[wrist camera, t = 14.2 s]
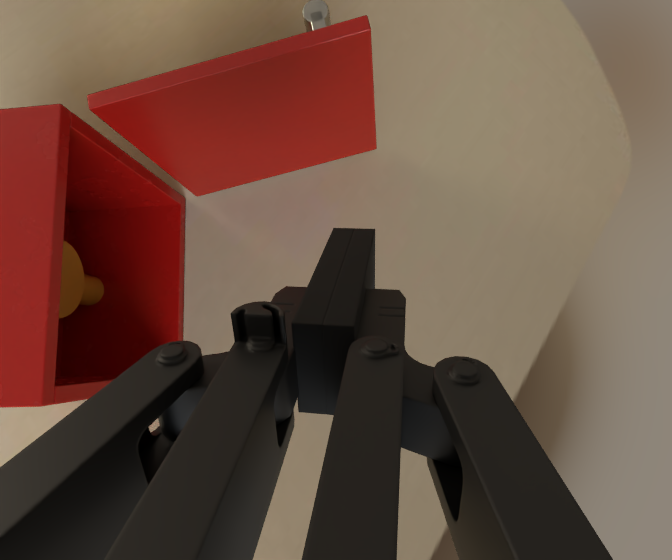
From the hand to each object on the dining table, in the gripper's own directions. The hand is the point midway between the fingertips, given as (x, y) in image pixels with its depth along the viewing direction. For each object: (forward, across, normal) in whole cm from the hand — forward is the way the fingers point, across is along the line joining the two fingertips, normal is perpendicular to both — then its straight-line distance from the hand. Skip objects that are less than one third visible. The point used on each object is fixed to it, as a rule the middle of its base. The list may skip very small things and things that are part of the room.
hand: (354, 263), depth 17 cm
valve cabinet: (+13, -19, -9) cm, 25 cm away
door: (+19, -8, +1) cm, 21 cm away
